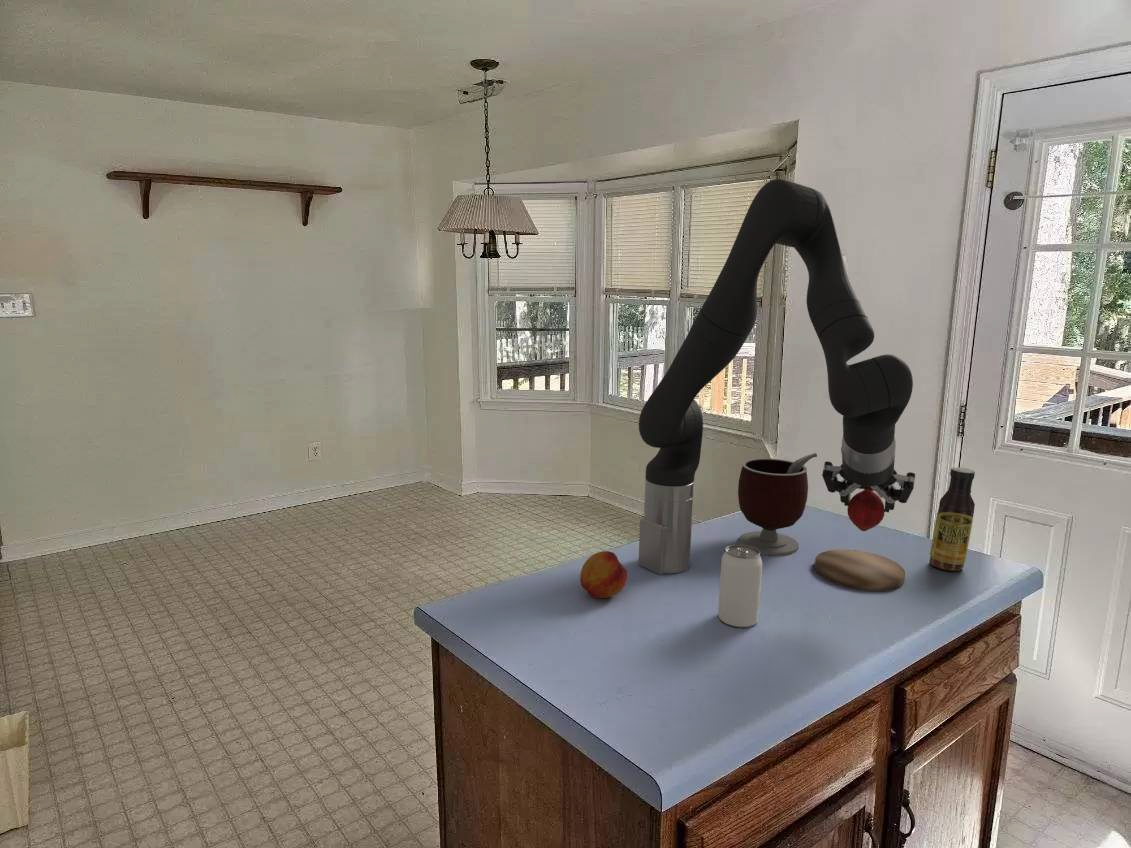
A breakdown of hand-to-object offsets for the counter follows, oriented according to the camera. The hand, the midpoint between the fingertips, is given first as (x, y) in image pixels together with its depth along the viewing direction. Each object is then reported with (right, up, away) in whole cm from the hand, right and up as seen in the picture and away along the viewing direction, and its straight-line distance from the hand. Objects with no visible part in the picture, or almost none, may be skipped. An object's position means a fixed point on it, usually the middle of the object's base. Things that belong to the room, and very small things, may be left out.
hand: (867, 504), depth 123 cm
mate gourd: (-8, -12, +30) cm, 33 cm away
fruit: (-45, -17, +4) cm, 48 cm away
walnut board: (+5, -15, +16) cm, 22 cm away
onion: (-1, -5, -1) cm, 5 cm away
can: (-23, -19, -4) cm, 30 cm away
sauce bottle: (+24, -15, +19) cm, 34 cm away
